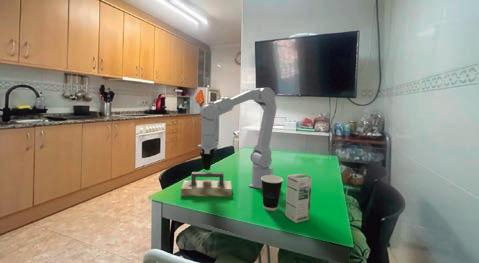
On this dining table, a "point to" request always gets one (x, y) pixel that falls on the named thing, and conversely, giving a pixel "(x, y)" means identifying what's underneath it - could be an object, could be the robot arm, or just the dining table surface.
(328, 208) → the dining table surface
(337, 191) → the dining table surface
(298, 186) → the syrup box
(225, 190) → the display stand
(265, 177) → the dixie cup
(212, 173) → the grey long bar
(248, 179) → the dining table surface
